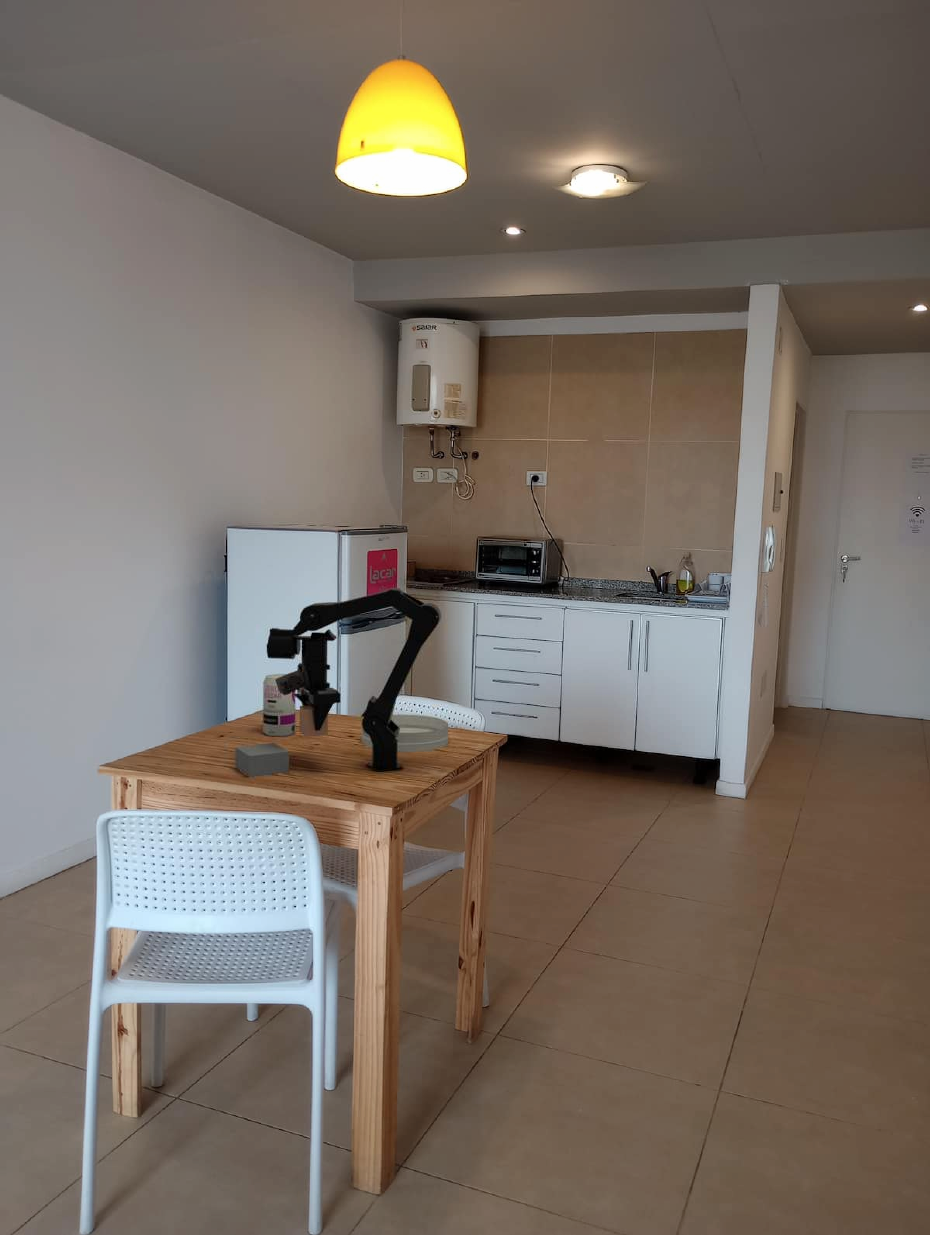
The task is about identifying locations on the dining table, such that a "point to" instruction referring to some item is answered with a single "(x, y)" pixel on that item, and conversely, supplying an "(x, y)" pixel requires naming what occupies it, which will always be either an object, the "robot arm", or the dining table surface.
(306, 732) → the terracotta block
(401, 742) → the dish
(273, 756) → the grey base block
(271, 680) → the supplement can
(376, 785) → the dining table surface
